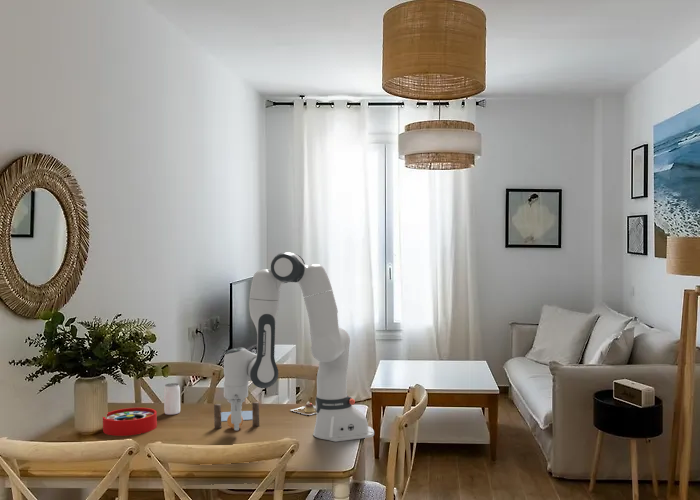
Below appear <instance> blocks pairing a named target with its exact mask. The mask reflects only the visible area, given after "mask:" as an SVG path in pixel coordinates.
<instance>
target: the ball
mask: <svg viewBox="0 0 700 500" xmlns="http://www.w3.org/2000/svg"><path fill="white" fill-rule="evenodd" d="M241 417H242V416H241ZM226 423H227V425H228V426H229V428H231V429H234V424H232V423H231V414H230V415H229V416H228V419H227V421H226ZM243 423H244V420H243V418H242V421H241V423H239V428H241V426H242V425H243Z"/></svg>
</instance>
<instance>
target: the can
mask: <svg viewBox="0 0 700 500" xmlns="http://www.w3.org/2000/svg"><path fill="white" fill-rule="evenodd" d="M179 384H180V383H175V382H173V383H166V384H165V385H164V388H163V396H164V397H163V402H164V403H163V404H164V405H163V406H164V407H163V409H164V411H163V412H164V414H165V415H168V416H172V415H173V416H174V415H178V414H180V412H181V388H180V385H179Z"/></svg>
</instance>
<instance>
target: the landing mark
mask: <svg viewBox="0 0 700 500" xmlns="http://www.w3.org/2000/svg"><path fill="white" fill-rule="evenodd" d="M230 414H231V411H221V423H222V422H227V419H228V416H229V415H230ZM241 416H242V418H243V421H253V416H252V410H241Z"/></svg>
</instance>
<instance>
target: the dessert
mask: <svg viewBox="0 0 700 500" xmlns="http://www.w3.org/2000/svg"><path fill="white" fill-rule="evenodd" d="M304 408H305V409H304ZM298 409H301V410H303V412H304V411H305V412H304V413H303V412H299V410H298ZM294 410H297V411H294ZM289 411H291V412H292V411H293V413H296V412H297V414H300V413H301V414H300V415H303V416H307V415H309V416H313V415H317V412H315V411H316V405H314V404H313V403H312V402H310V401H309V400H308V401H307V402H306V404H305V405H304V406H301V407H296V408H293V409H289ZM308 413H309V414H308Z"/></svg>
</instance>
